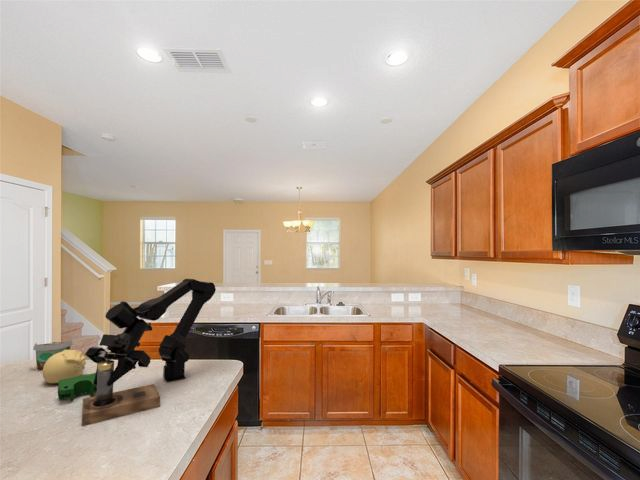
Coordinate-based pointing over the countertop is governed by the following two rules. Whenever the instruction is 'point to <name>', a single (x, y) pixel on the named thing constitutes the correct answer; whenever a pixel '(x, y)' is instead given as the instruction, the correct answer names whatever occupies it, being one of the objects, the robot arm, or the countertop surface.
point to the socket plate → (121, 404)
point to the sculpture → (64, 366)
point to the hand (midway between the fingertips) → (101, 384)
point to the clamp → (76, 386)
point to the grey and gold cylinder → (104, 383)
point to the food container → (49, 351)
